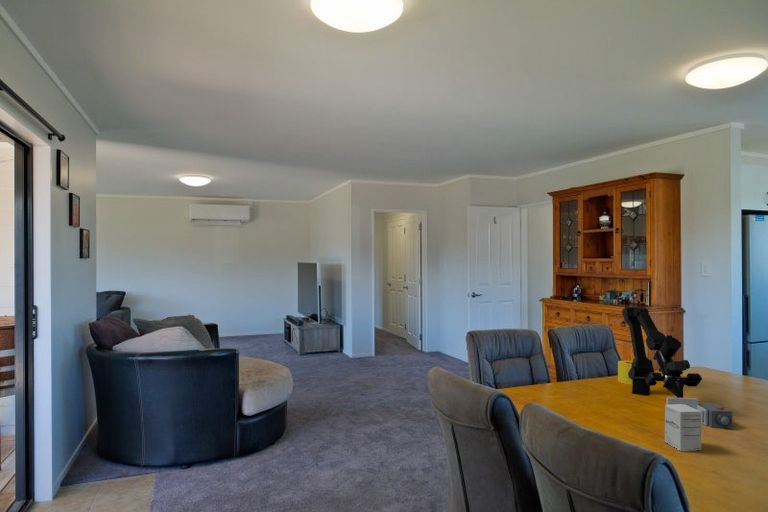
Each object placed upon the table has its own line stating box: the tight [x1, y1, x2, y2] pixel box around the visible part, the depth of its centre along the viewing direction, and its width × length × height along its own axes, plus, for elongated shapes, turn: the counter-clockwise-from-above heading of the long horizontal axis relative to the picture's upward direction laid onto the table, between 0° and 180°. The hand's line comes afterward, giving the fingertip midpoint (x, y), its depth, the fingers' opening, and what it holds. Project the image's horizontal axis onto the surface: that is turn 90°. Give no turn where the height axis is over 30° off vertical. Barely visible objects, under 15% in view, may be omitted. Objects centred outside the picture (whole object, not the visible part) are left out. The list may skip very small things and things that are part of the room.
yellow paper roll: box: [617, 360, 633, 385], centre depth 227 cm, size 10×10×9 cm
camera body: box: [699, 401, 733, 429], centre depth 170 cm, size 12×7×7 cm, turn 175°
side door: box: [666, 397, 708, 426], centre depth 171 cm, size 6×11×8 cm, turn 85°
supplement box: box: [664, 404, 702, 452], centre depth 149 cm, size 7×7×13 cm
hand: (681, 399), depth 175 cm, fingers closed, pressing on side door
